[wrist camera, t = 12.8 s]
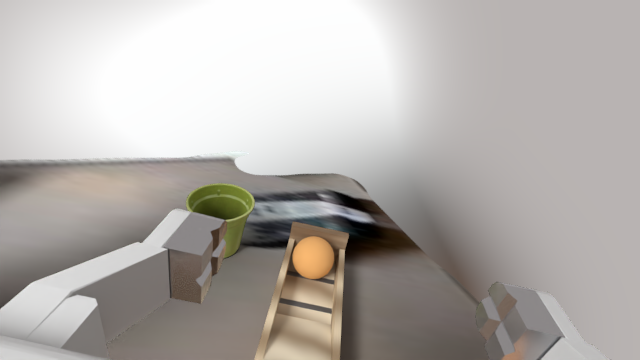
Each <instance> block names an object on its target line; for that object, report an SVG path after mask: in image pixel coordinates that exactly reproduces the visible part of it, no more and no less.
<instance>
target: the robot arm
mask: <svg viewBox="0 0 640 360" xmlns="http://www.w3.org/2000/svg"><path fill="white" fill-rule="evenodd" d="M226 232H227V221H226V220H223V219H219V218H215V217H211V216H207V215H203V214H199V213H195V212H190V211H186V210H182V209H178V208H176V209H174V210H172V211H171V212H170V213H169V214H168V215H167V216H166V217H165V219H164V220H163V221H162V222H161V223H160V224H159V225H158V226H157V227H156V228H155V230H154V231H153V232H152V233H151V234H150V235H149V236H148V237H147V238H146V239H145V240H144V242H143V243H139V242H136V243H133V244H130V245H128V246H125V247H123V248H120V249H117V250H115V251H112V252H110V253H107V254H105V255H102V256H99V257H97V258H94V259H92V260H89V261H86V262H84V263H81V264H79V265H76V266H73V267H71V268H68V269H66V270H63V271H60V272H58V273H55V274H53V275H50V276H47V277H45V278H42V279H40V280H37V281H34V282H32V283H31V284H29V285H28V286H27V287H26V288H25V289H23V290H22V291H21V292H20V293H19V294H18V295H16V296H15V297H14V298H13V299H12V300H10V301H9V302H8V303H7V304H6V305H5V306H3V307H2V308H1V309H0V360H111V359H110V358H109V354H108V349H107V345H106V344H107V343H108V342H110V341H111V340H112V339H114V338H115V337H117V336H118V335H120V334H121V333H123V332H124V331H126V330H127V329H129V328H130V327H131V326H133V325H134V324H136V323H137V322H139V321H140V320H142V319H143V318H145V317H146V316H148V315H149V314H150V313H152V312H153V311H155V310H156V309H158V308H159V307H161V306H162V305H164V304H165V303H167V302H168V301H169V300H170V298H172V299H177V300H182V301H188V302H193V303H198V304H201V303H202V301H203V299H204V297H205V295H206V294H207V292H208V290H209V288H210V286H211V277H212V276H213V275H215V274H217V273H218V271H219V269H220V267H221V264H222V261H223V258H224V254H225V249H226V242H225V240H224V239H223V237H224V236H225V234H226ZM488 291H489V295H490V296H489V297H487V298H485V299H483V300H481V302H480V303H479V305H478V307H477V309H476V316H475V318H476V325H477V328H478V331H479V333H480V334H481V335H482V336H483V337H484V338H485V339H486V340H487V342H486V344H485V349H486V352H487V354H488V357H489V360H610V359H609V358H608V357H607V356H606V355H604V354H603V353H602V352H600V351H599V350H598V349H597V348H596V347H594V346H593V345H592V344H588V343H586V342H585V341H584V340H583V338H582V336H581V335H580V334H579V332H578V331H577V329H576V328H575V326H574V325H573V324H572V322H571V320H570V319H569V318H568V316H567V315H566V313H565V312H564V310H563V309H562V307H561V306H560V305H559V303H558V302H557V300H556V299H555V297H554V296H552V295H551V294H550V293H548V292H545V291H540V290H535V289H528V288H524V287H519V286H514V285H510V284H505V283H501V282H496V283H494V284H493V285H492V286H491V287H490V288H489V290H488Z"/></svg>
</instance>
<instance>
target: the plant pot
mask: <svg viewBox="0 0 640 360" xmlns="http://www.w3.org/2000/svg"><path fill="white" fill-rule="evenodd" d="M254 205H255V201H254V198H253V196H252V195H251V193H250V192H248V191H247V190H245V189H243V188H242V187H239V186H236V185H232V184H223V183H218V184H209V185H205V186H202V187H199V188H197V189H195V190H194V191H192V192H191V193H190V194H189V195H188V197H187V199H186V207H187V209H188V211H190V212H195V213H199V214H203V215H207V216H211V217H215V218H219V219H223V220H226V221H227V232H226V234H225V236H224V237H223V239H224V240H225V242H226V249H225V254H224V258H226V257H229V256H231V255H233V254H234V253H235V252H236V251H237V249H238V248H239V246H240V242H241V238H242V234H243V230H244V227H245V223H246V220H247V218H248V216H249V214H250V213H251V212H252V210H253V208H254Z"/></svg>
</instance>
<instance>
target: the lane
mask: <svg viewBox="0 0 640 360" xmlns="http://www.w3.org/2000/svg"><path fill="white" fill-rule="evenodd" d="M311 236H316V237H320V238H323V239H324V240H326V241H327V242H328V243H329V244H330V245H331V247H332V249H333V252H334V263H333V266H332V268H331V270H330V271H329V272H328V273H327V274H326V275H325V276H323V277H321V278H319V279H308V278H305V277H303V276H302V275H300V274H299V273H298V272H297V270H296V269H295V267H294V264H293V251H294V249H295V247H296V245H297V244H298V243H299V242H300V241H301V240H303V239H304V238H307V237H311ZM348 238H349V233H345V232H341V231H336V230H331V229H326V228H322V227H317V226H312V225H308V224H303V223H298V222H294V221H293V223H292V228H291V233H290V239H289V242H288V246H287V249H286V252H285V256H284V259H283V263H282V266H281V270H280V273H279V277H278V280H277V284H276V287H275V291H274V294H273V297H272V301H271V304H270V308H269V311H268V315H267V318H266V322H265V325H264V329H263V332H262V335H261V339H260V342H259V346H258V349H257V353H256V356H255V360H340V345H341V323H342V301H343V279H344V258H345V248H346V244H347V241H348Z"/></svg>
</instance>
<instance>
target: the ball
mask: <svg viewBox="0 0 640 360" xmlns="http://www.w3.org/2000/svg"><path fill="white" fill-rule="evenodd" d="M333 263H334V252H333V249H332V247H331V245H330V244H329V243H328V242H327V241H326V240H324V239H323V238H320V237H316V236H311V237H307V238H304V239H303V240H301V241H300V242H299V243H298V244H297V245H296V247H295V249H294V251H293V264H294V267H295V269H296V270H297V272H298V273H299V274H300V275H302V276H303V277H305V278H308V279H319V278H321V277H323V276H325V275H326V274H327V273H328V272H329V271H330V270H331V268H332V266H333Z"/></svg>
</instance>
